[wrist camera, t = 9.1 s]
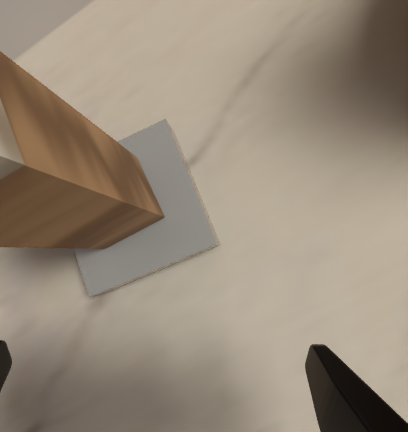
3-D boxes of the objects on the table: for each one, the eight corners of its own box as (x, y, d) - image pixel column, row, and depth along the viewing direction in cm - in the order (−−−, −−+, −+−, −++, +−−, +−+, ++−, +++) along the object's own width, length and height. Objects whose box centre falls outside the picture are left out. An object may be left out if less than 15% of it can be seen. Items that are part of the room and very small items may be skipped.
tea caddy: (168, 218, 20) (-98, 120, 5) (103, 252, 20) (-304, 255, 6) (138, 153, 21) (-155, -84, 6) (77, 188, 22) (-323, 48, 7)
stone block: (221, 244, 22) (217, 243, 19) (109, 291, 23) (88, 297, 20) (175, 135, 24) (165, 119, 21) (73, 182, 25) (49, 173, 22)
